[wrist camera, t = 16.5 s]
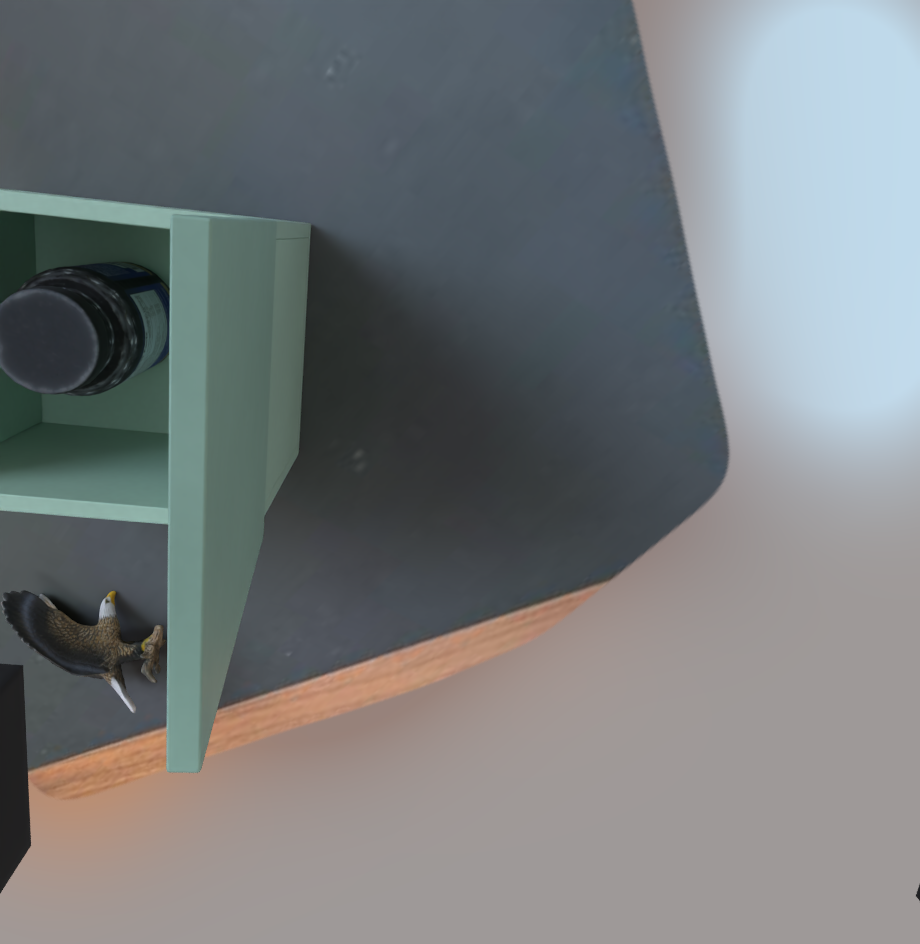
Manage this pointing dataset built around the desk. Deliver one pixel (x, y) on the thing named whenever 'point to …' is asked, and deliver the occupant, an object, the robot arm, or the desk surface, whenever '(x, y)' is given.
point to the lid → (214, 457)
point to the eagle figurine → (81, 640)
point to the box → (140, 398)
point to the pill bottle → (84, 328)
